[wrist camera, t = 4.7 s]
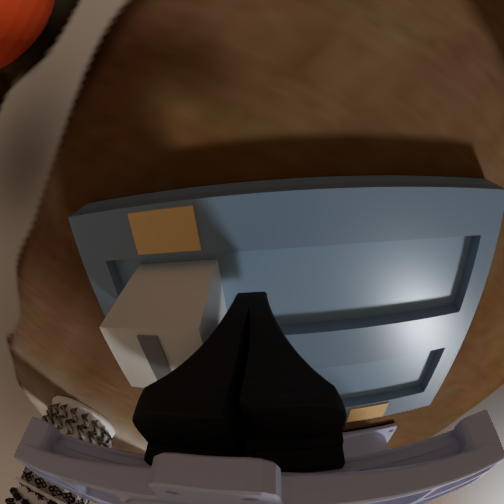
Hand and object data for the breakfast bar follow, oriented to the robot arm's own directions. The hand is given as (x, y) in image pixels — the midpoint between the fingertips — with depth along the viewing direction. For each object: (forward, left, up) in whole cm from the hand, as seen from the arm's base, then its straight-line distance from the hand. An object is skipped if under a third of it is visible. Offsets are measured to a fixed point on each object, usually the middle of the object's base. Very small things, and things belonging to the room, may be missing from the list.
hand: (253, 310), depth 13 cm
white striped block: (0, +4, -2) cm, 4 cm away
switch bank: (-4, -3, -3) cm, 6 cm away
